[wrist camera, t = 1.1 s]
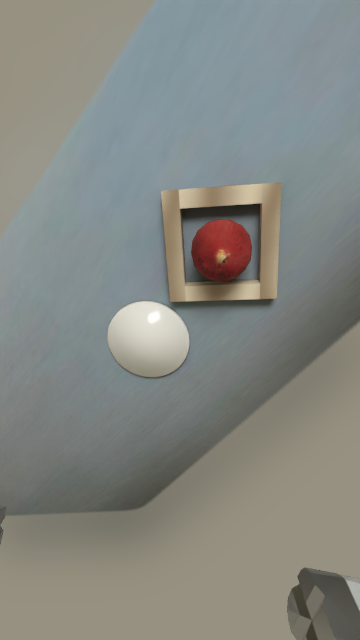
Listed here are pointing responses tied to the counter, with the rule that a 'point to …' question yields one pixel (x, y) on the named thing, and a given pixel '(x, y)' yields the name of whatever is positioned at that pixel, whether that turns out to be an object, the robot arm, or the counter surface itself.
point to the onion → (221, 250)
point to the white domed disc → (148, 338)
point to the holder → (268, 241)
